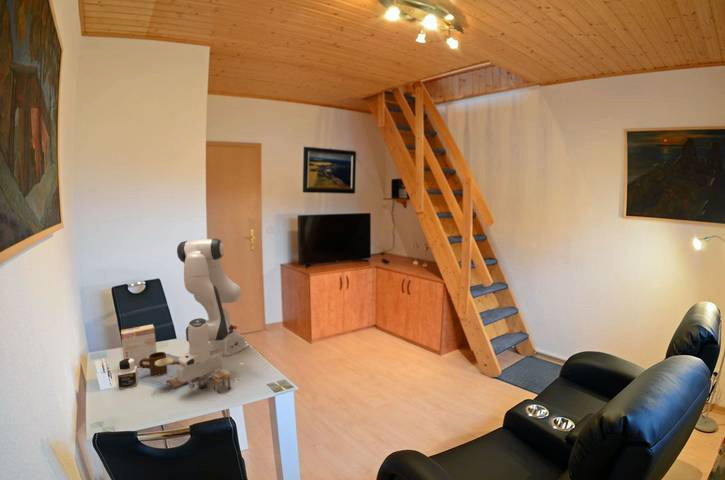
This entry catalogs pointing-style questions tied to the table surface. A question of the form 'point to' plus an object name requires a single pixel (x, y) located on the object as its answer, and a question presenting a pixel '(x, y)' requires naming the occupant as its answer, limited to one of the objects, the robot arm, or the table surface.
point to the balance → (175, 382)
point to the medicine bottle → (127, 374)
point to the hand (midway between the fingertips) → (202, 384)
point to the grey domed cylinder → (202, 383)
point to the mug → (152, 359)
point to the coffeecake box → (138, 343)
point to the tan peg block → (221, 379)
